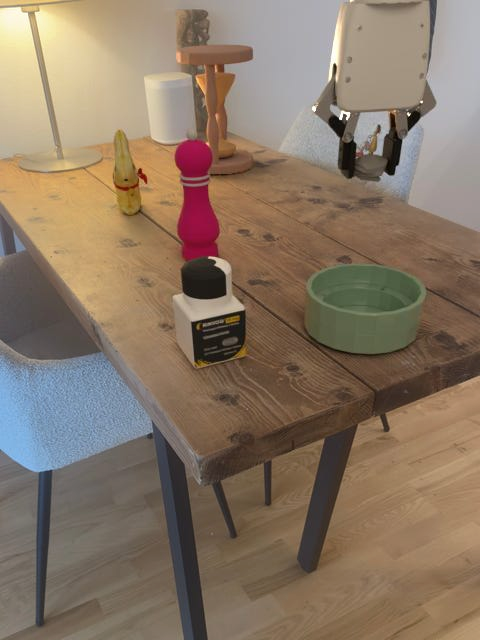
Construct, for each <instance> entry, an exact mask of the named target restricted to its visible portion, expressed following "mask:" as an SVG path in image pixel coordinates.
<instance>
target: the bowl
mask: <svg viewBox="0 0 480 640" xmlns="http://www.w3.org/2000/svg"><path fill="white" fill-rule="evenodd" d="M427 295H428V294H427V289H426V285H425V284H424V283H423V282H422V281H421V280H420V279H419V278H418V277H416V276H414V275H413V274H411V273H409V272H407V271H406V270H405V271H404V270H401V269H399V268H395V267H392V266H389V265H388V266H387V265H382V264H375V263H358V262H357V263H356V262H355V263H344V264H343V263H342V264H337V265H332V266H328V267H324V268H322V269H320V270H318V271H316V272H314V273H313V274H312V275H311V276H310V277H309V278H308V280H306V286H305V300H304V301H305V302H304V317H303V318H304V319H303V326H304V328H305V330H306V332H307V334H308V335H309V336H310V337H311V338H313V339H314V340H315V341H316V342H317V343H319V344H322V345H325V346H326V347H329V348H332V349H334V350H337V351H342V352H346V353H351V354H363V355H377V354H378V355H379V354H386V353H392V352H394V351H397V350H401V349H404V348H406V347H407V346H409V345H410V344H412V343H413V342H414V341H416V339H417V337H418V335H419V333H420V329H421V324H422V320H423V314H424V311H425V306H426V301H427Z"/></svg>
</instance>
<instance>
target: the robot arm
mask: <svg viewBox="0 0 480 640" xmlns="http://www.w3.org/2000/svg"><path fill="white" fill-rule="evenodd" d="M430 5H431V4H430V0H349V1H343V2H341V4H340V7H339V10H338V11H339V12H338V16H337V20H336V25H335V31H334V36H333V42H332V49H331V55H330V56H331V57H330V64H329V71H328V79H327V80H328V81H327V85H326V86H325V87H324V89H323V90H322V92H321V94H320V95H319V97H318V98H317V100H316V101H315V102H314V104H313V106H312V112H313V114H315V115H316V116H317V117H318V118H320V120H322V122H324V123H326V124H327V125H328V126H329V127H330V129H331V130H332V131H333V132H334V134H335V135H336V137H338V139H339V141H338V154H337V169H338V170H339V171H340V173H341V175H342V176H343V177H345V179H347V180H351V179H353V178H354V169H355V159H356V158H357V157H356V152H357V144H358V143H357V142H355V133H356V129H357V127H358V123H359V119H360V115H361V114H363V113H378V112H379V113H381V112H387V115H388V116H387V117H388V126H389V127H388V128H389V130H388V133H385V136H384V137H383V144H382V153H381V156H383V157H385V158H387V159H388V162H387V165H386V168H385V171H384V172H383V173H385V174H386V175H388V176H389V177H392V176H393V177H394V176H395V174H396V169H397V167H398V166H399V165H400V161H401V155H402V154H401V153H402V146H403V140H404V139H406V138H407V136H408V134H409V132H410V131H411V129H413V128H414V127H415V126H416V125H417V124H418V123H419V121H420V120H421V118H423V117H424V116H426V115H427V114H428V113H430V112H431V111H433V110H434V109H435V107H437V100H436V97H435V96H434V93H433V91H432V89H431V86H430V83H429V82H428V79H427V75H428V66H429V57H430V56H429V54H430V40H431V38H430V37H431V8H430V7H431V6H430ZM331 105H332V106H334V107H337V108H338V109H339V111H341V113H340V117H339V116H337V114H335V113H334V112H332V110H331Z"/></svg>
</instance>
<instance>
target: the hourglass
mask: <svg viewBox="0 0 480 640" xmlns="http://www.w3.org/2000/svg"><path fill="white" fill-rule="evenodd" d="M175 56H176V62H177V63H180V64H183V65H191V66H192V65H193V66H204V73H199V74H197V75H195V79H196V82H197V85H198V86H199V87H200V89H201V91H202V92H203V94H204V104H205V107H206V111H207V114H208V118H207V124H206V138H207V142H205V143H206V144H207V145H208V146H209V147H210V149H211V151H212V156H213V162H212V165H211V167H210V168H209V170H208V172H209V173H210V174H219V175H218V176H221V175H220V174H228V175H233V174H232V173H235V174H239V173H238V172H240V173H244V172H246V171H248V169H249V170H251V169H252V168H253V167H254V165H255V164H254V162H255V161H254V155H253V153H251V152H249V151H247V150H243V149H238V148H237V144H235V143H233V142H231V141H228V138H227V137H228V134H227V131H228V114H227V111H226V107H225V102H226V97H227V96H228V94H229V92H230V90H231V88H232V86H233V84H234V83H235V79H236V74H235V73H230V72H225V71H226V70H225V65H234V64H242V63H246V62H250V61H253V59H254V49H253V47H252V46H250V45H249V46H248V45H242V44H203V45H192V46H191V45H189V46H183V47H181V48H180V47H179V48H177V49H176V51H175ZM245 170H246V171H245ZM243 171H244V172H243Z"/></svg>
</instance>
